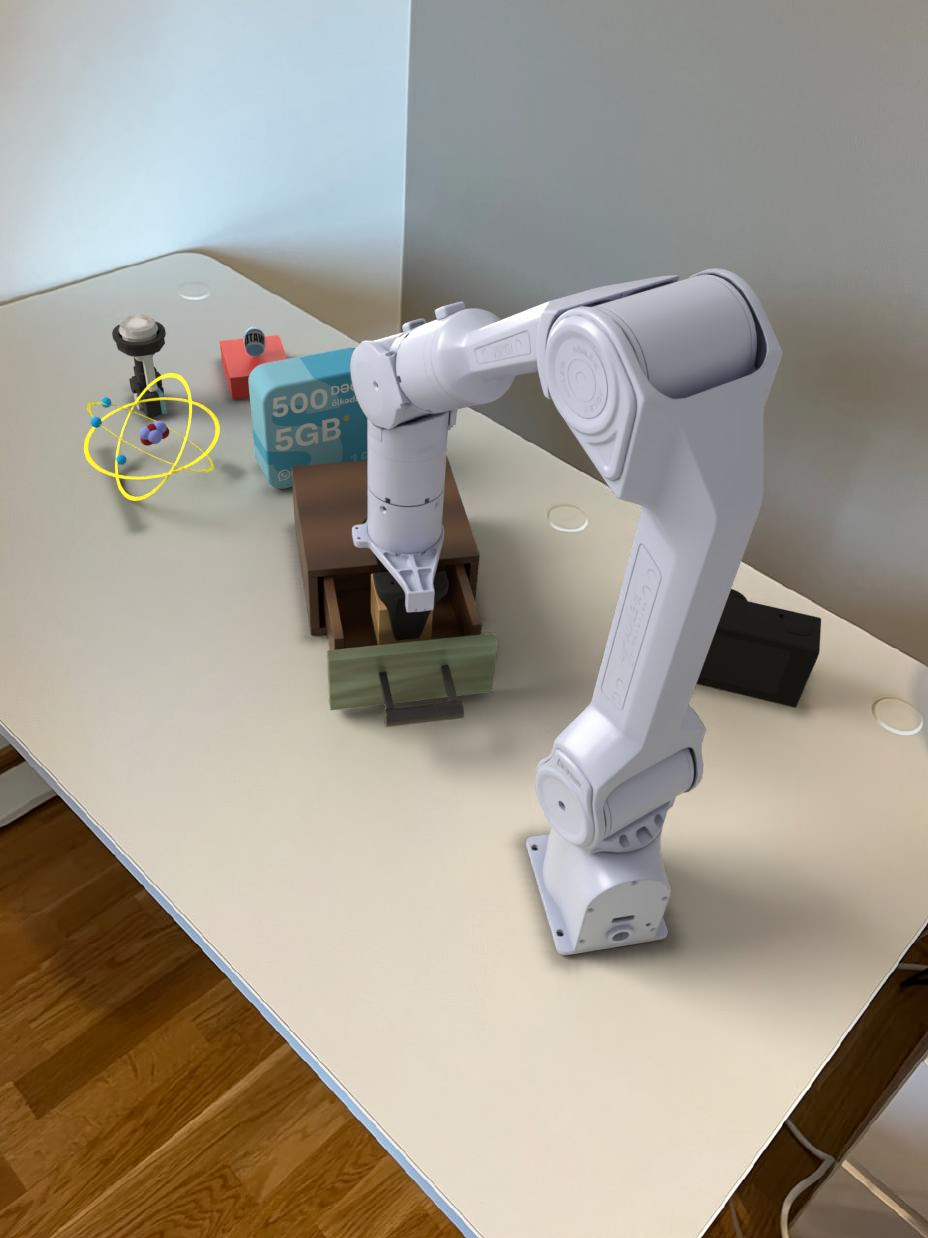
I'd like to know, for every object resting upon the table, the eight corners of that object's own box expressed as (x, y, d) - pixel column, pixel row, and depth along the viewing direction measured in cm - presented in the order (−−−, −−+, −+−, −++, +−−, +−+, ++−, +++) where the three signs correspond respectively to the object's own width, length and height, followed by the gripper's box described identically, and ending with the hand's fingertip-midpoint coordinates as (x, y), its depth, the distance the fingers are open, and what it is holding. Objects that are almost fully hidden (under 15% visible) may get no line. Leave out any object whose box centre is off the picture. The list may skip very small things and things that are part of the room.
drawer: (506, 740, 85) (513, 692, 81) (338, 761, 83) (337, 712, 78) (459, 583, 98) (463, 534, 94) (312, 597, 95) (310, 547, 91)
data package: (269, 493, 107) (261, 389, 99) (255, 468, 110) (246, 365, 102) (380, 467, 111) (381, 366, 103) (363, 443, 114) (363, 343, 106)
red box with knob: (221, 362, 124) (216, 312, 120) (280, 356, 126) (277, 307, 121) (232, 399, 119) (227, 349, 114) (293, 392, 120) (290, 342, 116)
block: (431, 643, 88) (433, 604, 85) (378, 649, 88) (378, 610, 84) (421, 607, 91) (423, 568, 88) (370, 612, 91) (370, 573, 88)
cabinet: (473, 619, 96) (480, 555, 91) (310, 635, 93) (307, 570, 88) (442, 517, 106) (446, 454, 101) (295, 529, 103) (291, 465, 98)
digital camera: (800, 664, 95) (823, 607, 90) (797, 708, 91) (821, 651, 86) (683, 637, 96) (700, 579, 91) (676, 679, 92) (693, 621, 87)
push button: (114, 394, 118) (98, 311, 111) (160, 382, 120) (147, 300, 113) (136, 424, 114) (121, 340, 107) (183, 411, 116) (172, 328, 109)
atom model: (66, 439, 110) (192, 395, 115) (123, 557, 106) (252, 507, 110) (38, 357, 98) (181, 311, 102) (101, 486, 94) (248, 432, 98)
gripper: (339, 430, 83) (342, 562, 93) (366, 551, 73) (366, 684, 83) (428, 425, 85) (422, 555, 94) (466, 542, 75) (455, 674, 84)
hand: (401, 615), depth 89 cm, fingers closed on block, 4 cm apart
